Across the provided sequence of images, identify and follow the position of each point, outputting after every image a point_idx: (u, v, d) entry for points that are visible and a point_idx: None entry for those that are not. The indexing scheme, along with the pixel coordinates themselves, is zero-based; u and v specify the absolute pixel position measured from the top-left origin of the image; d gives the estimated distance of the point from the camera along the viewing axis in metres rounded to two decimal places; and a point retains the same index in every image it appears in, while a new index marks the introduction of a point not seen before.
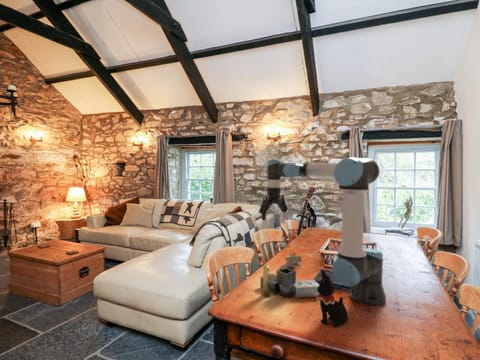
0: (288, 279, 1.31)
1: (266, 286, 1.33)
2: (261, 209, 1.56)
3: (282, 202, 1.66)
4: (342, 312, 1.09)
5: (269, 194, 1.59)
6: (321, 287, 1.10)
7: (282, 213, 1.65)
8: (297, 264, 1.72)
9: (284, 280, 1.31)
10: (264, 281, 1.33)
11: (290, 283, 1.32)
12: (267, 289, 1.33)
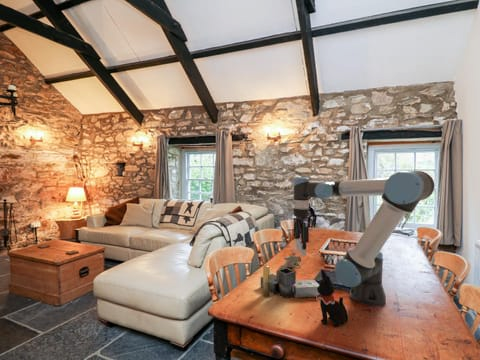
0: (288, 279, 1.31)
1: (266, 286, 1.33)
2: (306, 238, 1.38)
3: None
4: (342, 312, 1.09)
5: (304, 217, 1.40)
6: (321, 287, 1.10)
7: (299, 240, 1.48)
8: (297, 264, 1.72)
9: (284, 280, 1.31)
10: (264, 281, 1.33)
11: (290, 283, 1.32)
12: (267, 289, 1.33)
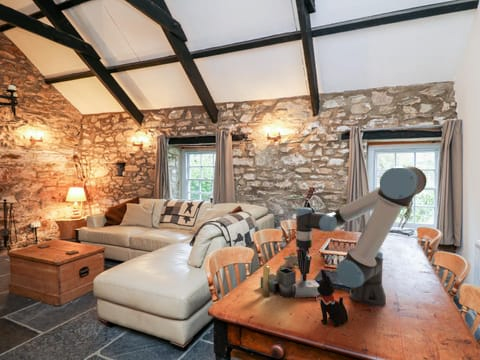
0: (288, 279, 1.31)
1: (266, 286, 1.33)
2: (307, 270, 1.38)
3: None
4: (342, 312, 1.09)
5: (307, 248, 1.38)
6: (321, 287, 1.10)
7: None
8: (296, 264, 1.72)
9: (284, 280, 1.31)
10: (264, 281, 1.33)
11: (290, 283, 1.32)
12: (267, 289, 1.33)
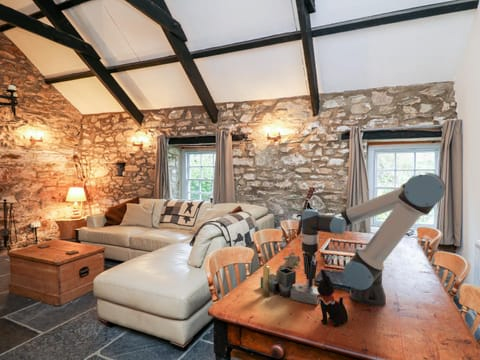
0: (288, 279, 1.31)
1: (266, 286, 1.33)
2: (313, 275, 1.31)
3: None
4: (342, 312, 1.09)
5: (313, 253, 1.31)
6: (321, 287, 1.10)
7: None
8: (296, 264, 1.72)
9: (284, 280, 1.31)
10: (264, 281, 1.33)
11: (290, 283, 1.32)
12: (267, 289, 1.33)
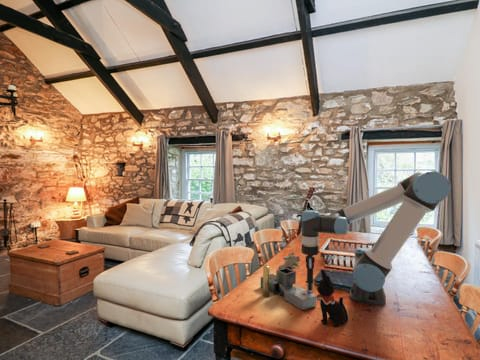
0: (288, 279, 1.31)
1: (266, 286, 1.33)
2: (310, 279, 1.25)
3: None
4: (342, 312, 1.09)
5: (310, 255, 1.25)
6: (321, 287, 1.10)
7: None
8: (295, 264, 1.72)
9: (284, 280, 1.31)
10: (264, 281, 1.33)
11: (290, 283, 1.32)
12: (267, 289, 1.33)
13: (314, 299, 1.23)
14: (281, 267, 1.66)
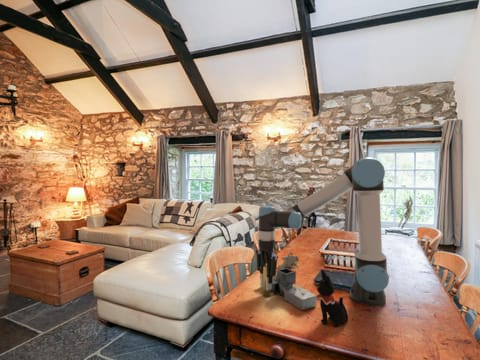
0: (288, 279, 1.31)
1: None
2: None
3: None
4: (342, 312, 1.09)
5: None
6: (321, 287, 1.10)
7: None
8: (294, 264, 1.72)
9: (284, 280, 1.31)
10: (264, 281, 1.33)
11: (290, 283, 1.32)
12: None
13: (314, 299, 1.23)
14: (280, 267, 1.66)
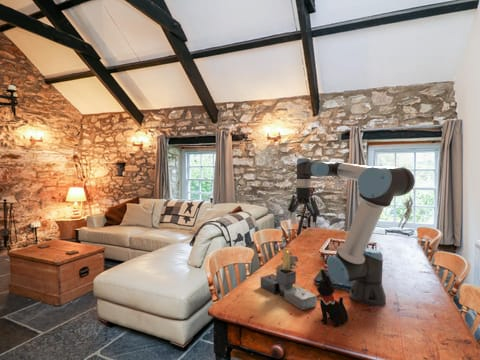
0: (288, 279, 1.31)
1: (286, 270, 1.33)
2: None
3: None
4: (342, 312, 1.09)
5: None
6: (321, 287, 1.10)
7: None
8: (293, 264, 1.72)
9: (284, 280, 1.31)
10: (284, 266, 1.34)
11: (290, 283, 1.32)
12: None
13: (314, 299, 1.23)
14: (279, 267, 1.66)
